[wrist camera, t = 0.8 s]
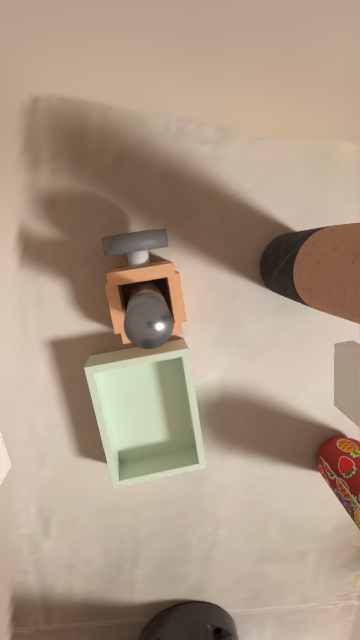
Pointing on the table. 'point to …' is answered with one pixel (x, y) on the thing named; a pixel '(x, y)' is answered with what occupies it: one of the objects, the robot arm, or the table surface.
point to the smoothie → (343, 472)
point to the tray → (146, 412)
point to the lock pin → (148, 317)
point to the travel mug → (317, 269)
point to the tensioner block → (141, 275)
